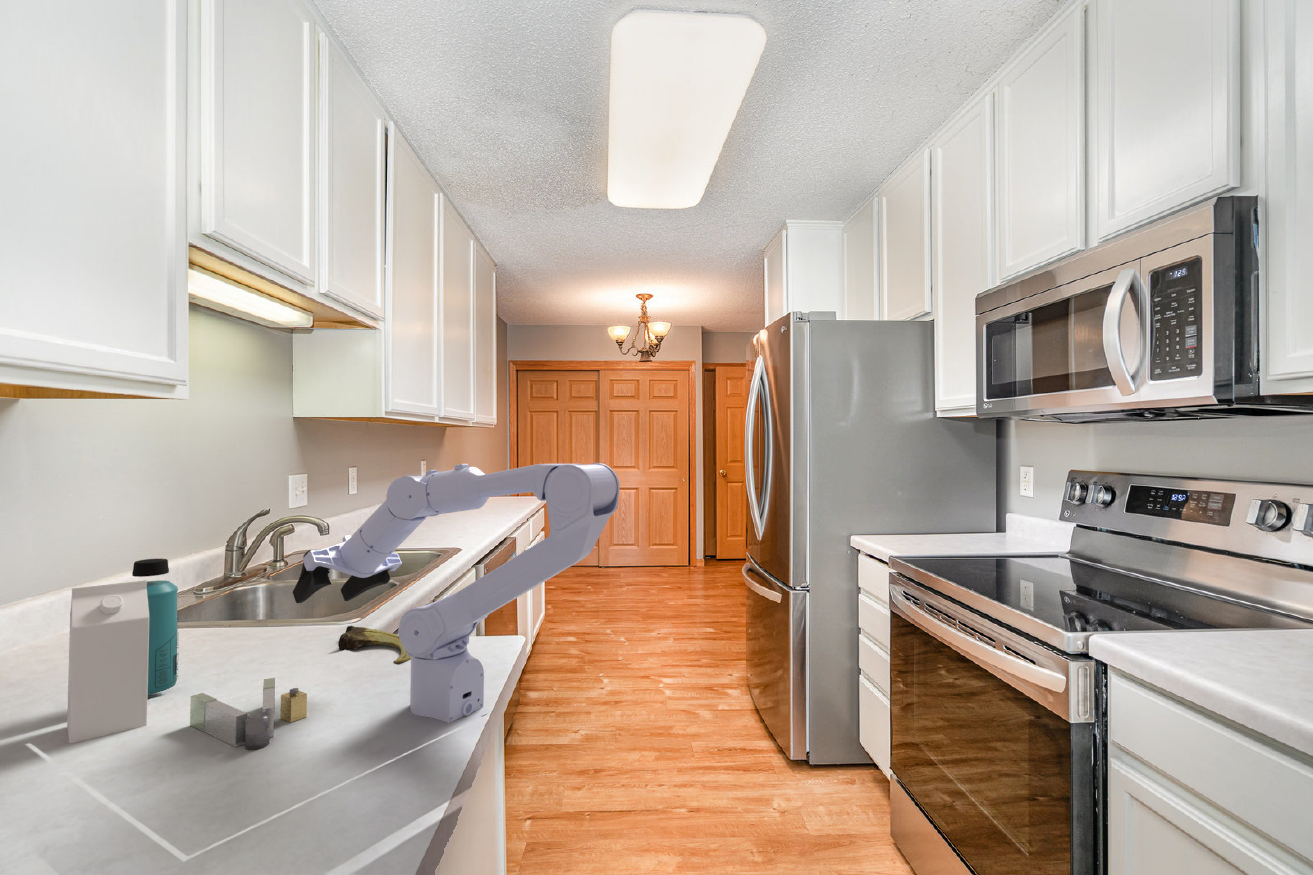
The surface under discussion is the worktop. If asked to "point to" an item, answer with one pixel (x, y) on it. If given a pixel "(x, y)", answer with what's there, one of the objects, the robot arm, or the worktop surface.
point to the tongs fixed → (229, 722)
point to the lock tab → (293, 705)
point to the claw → (371, 640)
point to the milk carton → (108, 660)
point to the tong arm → (269, 701)
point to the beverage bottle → (160, 625)
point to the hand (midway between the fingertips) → (321, 596)
